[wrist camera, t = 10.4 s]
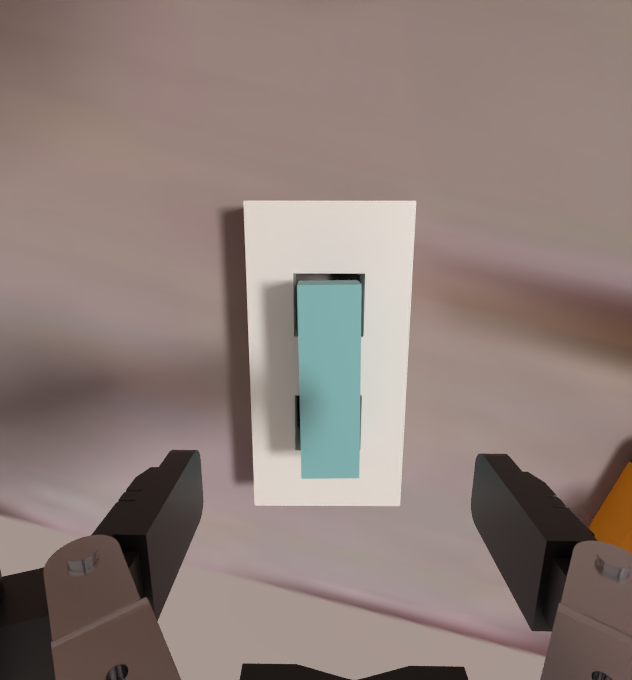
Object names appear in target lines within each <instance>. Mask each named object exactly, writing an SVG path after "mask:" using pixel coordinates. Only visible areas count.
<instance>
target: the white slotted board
mask: <svg viewBox="0 0 632 680" xmlns="http://www.w3.org/2000/svg"><path fill="white" fill-rule="evenodd" d="M415 215H416V201H244V228H245V255H246V282H247V309H248V336H249V363H250V390H251V418H252V445H253V472H254V499H255V505H271V506H400V496H401V477H402V458H403V440H404V421H405V402H406V384H407V365H408V346H409V328H410V309H411V290H412V272H413V253H414V234H415ZM296 273H325V274H360V283H361V284H362V300H361V381H360V462H359V478H330V479H301V439H300V429H298V414H297V395H299V353H298V326H297V312H296Z"/></svg>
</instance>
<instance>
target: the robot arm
mask: <svg viewBox="0 0 632 680" xmlns="http://www.w3.org/2000/svg"><path fill="white" fill-rule="evenodd" d="M202 509H203V488H202V474H201V460H200V454H199V451H198V450H171V451H170V452H169V453H168V455H167V456H166V458H165V459H164V461H163V462H162V463H161V465H160V466H159V467H151V468H149V469H148V470H146V471H145V472H143V473H142V474H140V475H139V476H137V477H136V478H135V479H134V480H133V482H132V483H131V484H130V486H129V487H128V488H127V489H126V492H124V493H123V495H122V496H121V497H120V499H119V501H118V502H117V503H116V504H115V505H114V506H113V508H112V509H111V510H110V512H109V513H108V514H107V516H106V517H105V518H104V519H103V521H102V522H101V523H100V525H99V526H98V527H97V529H96V530H95V531H94V533H93V534H92V535H91V536H86V537H83V538H80V539H77V540H75V541H72V542H70V543H68V544H66V545H65V546H63V547H62V548H60V549H59V550H57V551H56V552H55V553H54V554H53V555H52V556H51V557H50V558H49V559H48V561H47V563H46V564H45V567H44V568H40V569H36V570H31V571H27V572H22V573H18V574H13V575H8V576H4V577H2V576H1V571H0V680H181V678H180V676H179V673H178V671H177V668H176V666H175V664H174V661H173V659H172V656H171V654H170V652H169V649H168V647H167V644H166V642H165V639H164V637H163V634H162V632H161V629H160V627H159V624H158V622H157V621H158V618H159V616H160V613H161V611H162V609H163V606H164V604H165V602H166V600H167V597H168V595H169V592H170V590H171V588H172V585H173V583H174V581H175V578H176V576H177V574H178V571H179V569H180V567H181V564H182V562H183V560H184V557H185V555H186V552H187V550H188V548H189V545H190V543H191V541H192V538H193V536H194V534H195V531H196V529H197V527H198V524H199V522H200V519H201V515H202ZM471 511H472V517H473V521H474V523H475V526H476V528H477V529H478V531H479V533H480V535H481V537H482V539H483V541H484V543H485V544H486V546H487V548H488V550H489V552H490V554H491V556H492V558H493V559H494V561H495V563H496V565H497V567H498V569H499V571H500V572H501V574H502V576H503V578H504V580H505V582H506V584H507V586H508V587H509V589H510V591H511V593H512V595H513V597H514V599H515V600H516V602H517V604H518V606H519V608H520V610H521V612H522V614H523V615H524V617H525V619H526V621H527V623H528V625H529V627H530V628H531V630H532V631H552V634H551V638H550V642H549V647H548V651H547V655H546V659H545V663H544V667H543V671H542V675H541V680H632V554H631V553H630V552H628V551H626V550H624V549H622V548H620V547H617V546H615V545H612V544H609V543H605V542H600V541H598V540H597V539H596V538H595V537H594V536H593V535H592V534H591V533H590V532H589V531H588V529H587V528H586V527H585V526H584V525H583V524H582V523H581V522H580V521H579V520H578V518H577V517H576V516H575V515H574V514H573V513H572V512H571V511H570V510H569V509H568V508H566V505H565V504H564V503H563V502H562V501H561V500H560V499H559V498H557V497H556V494H555V493H554V492H553V491H552V490H551V489H550V488H549V487H548V486H547V484H546V483H545V482H543V481H541V480H540V479H538V478H537V477H535V476H533V475H532V474H530V473H529V472H522V471H521V470H520V468H519V467H518V466H517V465H516V464H515V463H514V461H513V460H512V459H511V458H510V457H509V456H508V455H507V454H478V456H477V458H476V462H475V470H474V479H473V489H472V498H471ZM240 680H350V679H346V678H342V677H339V676H335V675H332V674H328V673H325V672H322V671H318V670H314V669H311V668H308V667H304V666H301V665H297V664H243V665H242V670H241V676H240ZM359 680H468V677H467V675H466V671H465V668H464V667H445V666H443V667H442V666H408V667H404V668H400V669H396V670H393V671H389V672H385V673H382V674H378V675H374V676H371V677H367V678H363V679H359Z"/></svg>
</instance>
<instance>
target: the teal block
mask: <svg viewBox="0 0 632 680" xmlns="http://www.w3.org/2000/svg"><path fill="white" fill-rule="evenodd" d="M361 300H362V284H361V283H360V282H359V281H358V280H313V281H299V282H298V284H297V309H298V353H299V396H300V439H301V479H330V478H359V462H360V381H361Z"/></svg>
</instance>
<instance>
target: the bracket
mask: <svg viewBox="0 0 632 680" xmlns="http://www.w3.org/2000/svg"><path fill="white" fill-rule="evenodd" d="M588 528H589V529H590V530H591V531H592V532H593V533H594V534H595V536H594V537H595V538H596V539H597V540H598V541H600V542H605V543H609V544H612V545H615V546H617V547H620V548H622V549H624V550H626V551H628V552H630V553H631V554H632V462H630V461H629V462H628V464H627V465H626V467H625V469H624V470H623V472H622V473H621V475H620V477H619V478H618V480H617V482H616V483H615V485H614V486H613V488H612V490H611V491H610V493H609V495H608V496H607V498H606V499H605V501H604V503H603V504H602V506H601V508H600V509H599V511H598V512H597V514H596V516H595V517H594V519H593V521H592V522H591V524H590V525H589V527H588Z"/></svg>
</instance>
